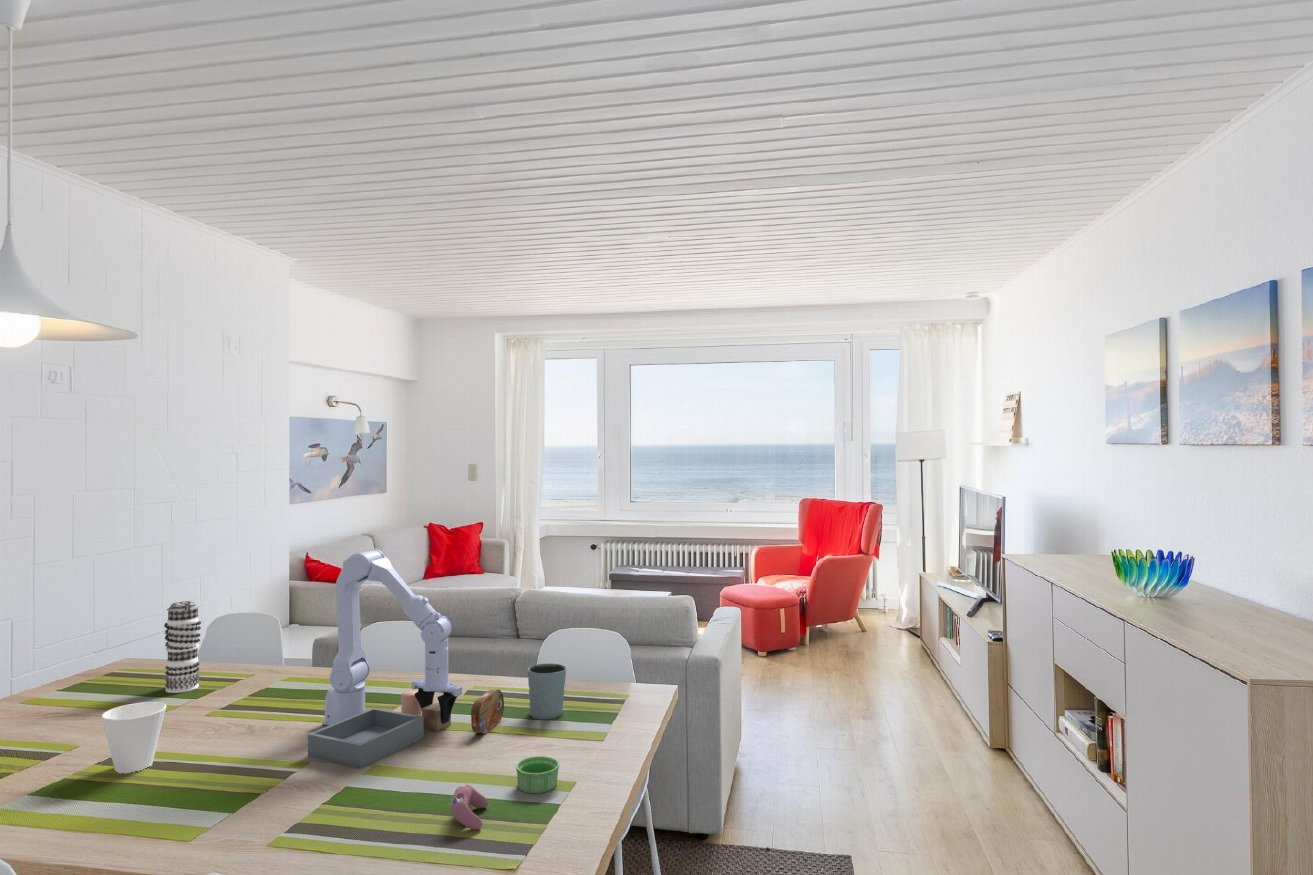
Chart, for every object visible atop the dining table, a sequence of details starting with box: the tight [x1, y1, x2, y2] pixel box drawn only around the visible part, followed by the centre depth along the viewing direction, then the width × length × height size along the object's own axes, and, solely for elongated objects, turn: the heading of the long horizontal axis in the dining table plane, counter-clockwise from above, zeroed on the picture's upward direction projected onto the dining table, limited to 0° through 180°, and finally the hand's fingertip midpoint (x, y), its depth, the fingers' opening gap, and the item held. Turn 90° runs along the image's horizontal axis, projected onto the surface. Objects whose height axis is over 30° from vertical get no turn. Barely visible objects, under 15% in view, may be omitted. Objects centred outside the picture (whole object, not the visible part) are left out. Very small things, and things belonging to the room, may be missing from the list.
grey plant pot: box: [527, 662, 567, 720], centre depth 203 cm, size 10×10×12 cm
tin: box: [470, 689, 505, 735], centre depth 193 cm, size 15×3×8 cm, turn 168°
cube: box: [422, 702, 452, 733], centre depth 193 cm, size 5×5×5 cm
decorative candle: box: [163, 600, 202, 694], centre depth 225 cm, size 9×9×25 cm
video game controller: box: [450, 783, 489, 831], centre depth 145 cm, size 10×5×7 cm, turn 5°
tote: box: [307, 707, 424, 769], centre depth 180 cm, size 16×20×5 cm
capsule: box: [400, 689, 422, 716], centre depth 198 cm, size 5×5×7 cm
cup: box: [101, 701, 167, 774], centre depth 169 cm, size 12×12×12 cm
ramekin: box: [515, 755, 560, 794], centre depth 159 cm, size 9×9×4 cm
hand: (436, 720), depth 193 cm, fingers closed on cube, 5 cm apart
